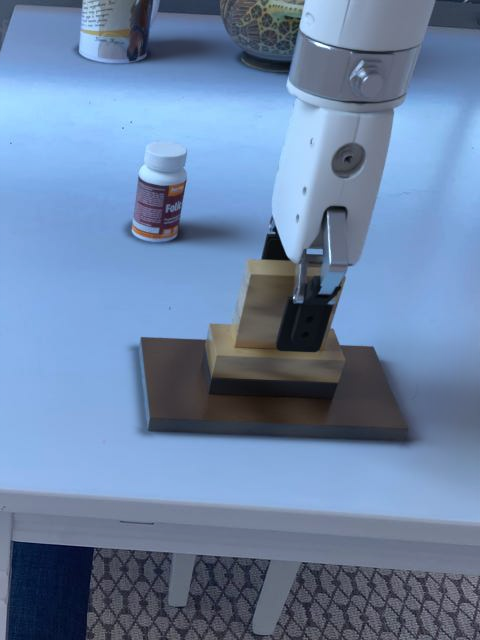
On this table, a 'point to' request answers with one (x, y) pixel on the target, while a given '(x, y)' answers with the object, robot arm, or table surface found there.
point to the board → (266, 399)
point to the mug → (116, 29)
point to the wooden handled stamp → (269, 342)
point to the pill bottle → (160, 192)
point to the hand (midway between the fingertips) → (285, 315)
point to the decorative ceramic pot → (264, 30)
